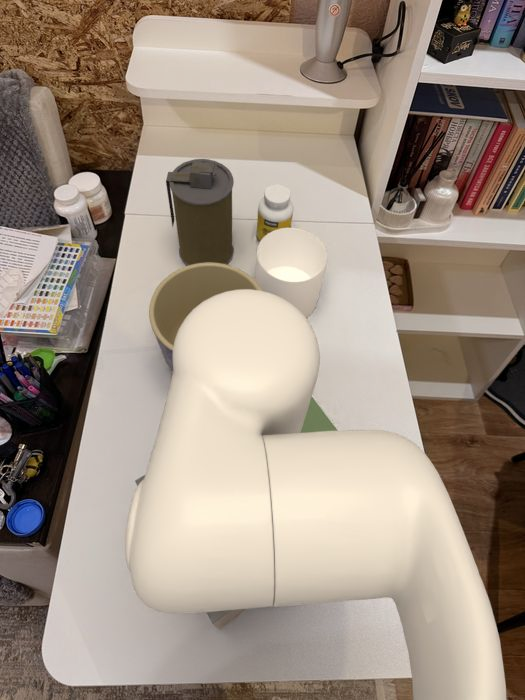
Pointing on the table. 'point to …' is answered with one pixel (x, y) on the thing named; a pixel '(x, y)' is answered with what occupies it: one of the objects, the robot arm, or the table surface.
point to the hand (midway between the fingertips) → (240, 499)
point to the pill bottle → (274, 210)
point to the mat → (316, 419)
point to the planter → (190, 297)
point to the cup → (292, 267)
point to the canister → (202, 210)
